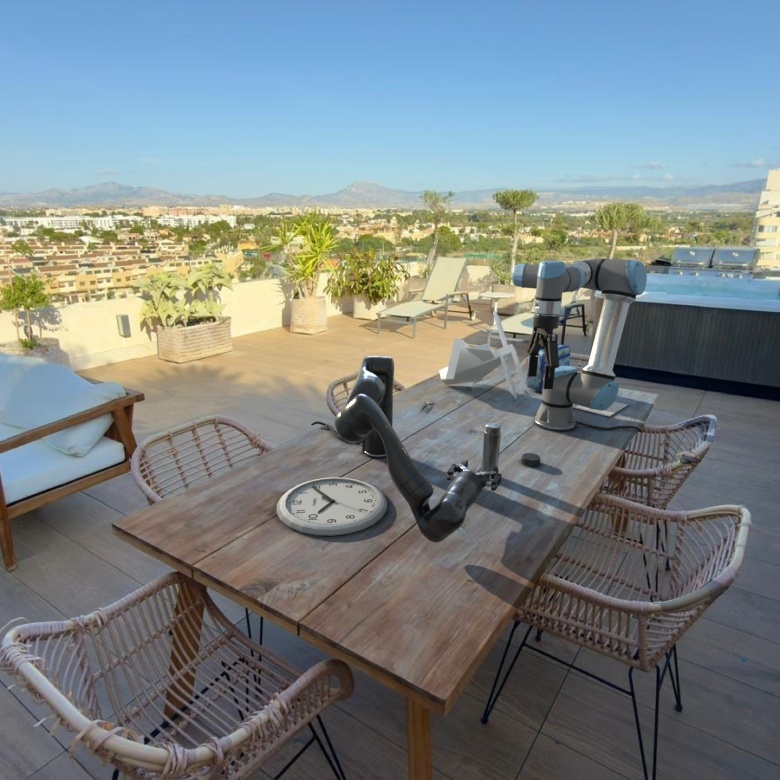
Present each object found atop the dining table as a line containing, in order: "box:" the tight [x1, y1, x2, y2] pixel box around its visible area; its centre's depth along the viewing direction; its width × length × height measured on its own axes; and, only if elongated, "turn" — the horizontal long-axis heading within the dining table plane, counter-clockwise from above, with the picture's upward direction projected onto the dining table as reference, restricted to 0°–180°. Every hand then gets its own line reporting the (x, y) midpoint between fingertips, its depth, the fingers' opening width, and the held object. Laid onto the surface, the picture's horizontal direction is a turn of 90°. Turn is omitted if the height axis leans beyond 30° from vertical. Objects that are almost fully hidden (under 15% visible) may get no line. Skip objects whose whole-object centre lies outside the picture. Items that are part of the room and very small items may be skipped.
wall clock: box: [276, 476, 388, 537], centre depth 142 cm, size 30×2×30 cm
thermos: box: [480, 422, 502, 478], centre depth 158 cm, size 5×5×17 cm
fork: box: [420, 396, 435, 411], centre depth 223 cm, size 3×16×2 cm, turn 160°
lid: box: [520, 452, 541, 468], centre depth 170 cm, size 6×6×2 cm
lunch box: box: [525, 344, 571, 393], centre depth 249 cm, size 26×11×21 cm, turn 134°
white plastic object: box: [438, 310, 531, 400], centre depth 245 cm, size 37×45×31 cm
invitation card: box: [573, 401, 629, 418], centre depth 226 cm, size 21×1×15 cm
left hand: (481, 466), depth 149 cm, fingers open, 8 cm apart
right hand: (539, 382), depth 163 cm, fingers open, 13 cm apart
